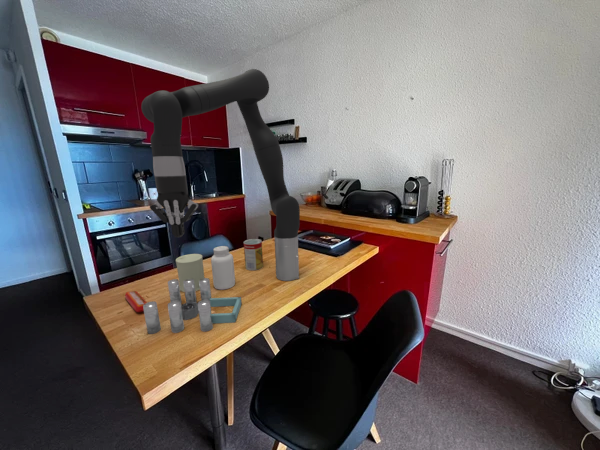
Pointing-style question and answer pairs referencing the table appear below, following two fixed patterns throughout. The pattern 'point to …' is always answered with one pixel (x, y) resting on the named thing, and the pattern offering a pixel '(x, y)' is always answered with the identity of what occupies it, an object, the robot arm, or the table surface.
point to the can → (190, 269)
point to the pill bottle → (222, 268)
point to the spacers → (175, 306)
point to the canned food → (253, 254)
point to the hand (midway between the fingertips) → (178, 236)
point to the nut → (189, 310)
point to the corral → (226, 316)
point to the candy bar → (135, 301)
